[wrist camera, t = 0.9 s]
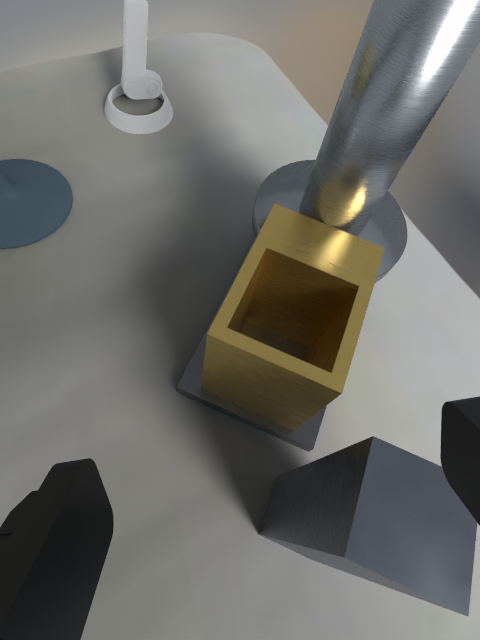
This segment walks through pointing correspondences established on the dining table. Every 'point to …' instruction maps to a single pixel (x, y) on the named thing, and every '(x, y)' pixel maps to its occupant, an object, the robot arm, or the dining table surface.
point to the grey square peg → (379, 521)
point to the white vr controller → (137, 76)
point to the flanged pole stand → (330, 229)
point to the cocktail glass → (31, 201)
